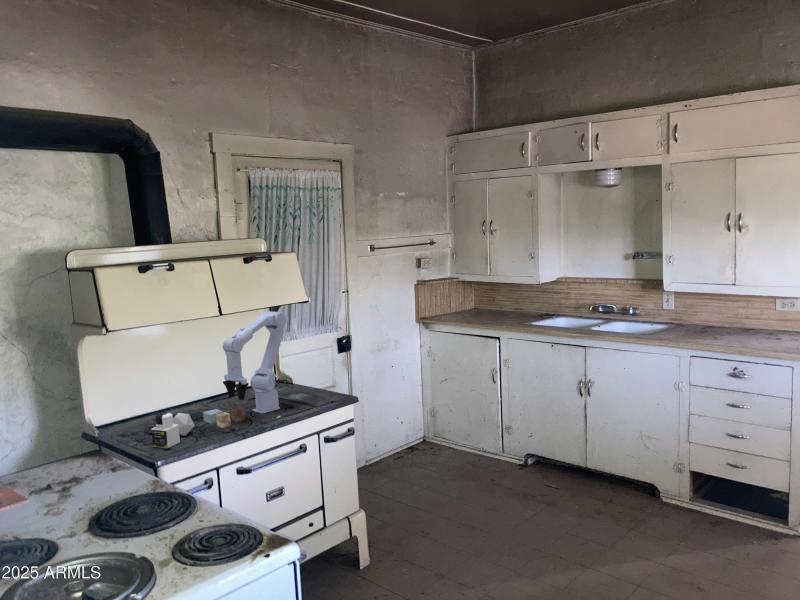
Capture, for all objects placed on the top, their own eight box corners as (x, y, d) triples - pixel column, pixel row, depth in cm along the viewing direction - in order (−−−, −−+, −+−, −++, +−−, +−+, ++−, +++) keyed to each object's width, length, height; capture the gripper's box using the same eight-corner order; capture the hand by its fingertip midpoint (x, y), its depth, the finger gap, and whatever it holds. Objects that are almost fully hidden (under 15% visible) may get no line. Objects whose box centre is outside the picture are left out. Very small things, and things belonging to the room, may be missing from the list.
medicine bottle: (152, 447, 245) (149, 416, 243) (165, 440, 251) (162, 410, 250) (167, 448, 242) (164, 417, 241) (180, 442, 249) (177, 411, 247)
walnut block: (240, 418, 277) (239, 406, 276) (245, 419, 274) (244, 408, 273) (231, 420, 274) (230, 408, 274) (236, 422, 271) (235, 410, 271)
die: (199, 433, 261) (192, 410, 265) (190, 429, 252) (183, 405, 256) (179, 442, 260) (173, 419, 264) (170, 438, 252) (163, 414, 256)
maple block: (225, 423, 270) (224, 412, 269) (230, 425, 267) (229, 413, 266) (216, 426, 267) (216, 414, 266) (222, 428, 264) (221, 416, 264)
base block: (216, 418, 279) (215, 408, 279) (223, 420, 275) (223, 411, 274) (203, 421, 275) (203, 412, 274) (210, 424, 271) (209, 414, 270)
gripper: (216, 366, 274) (219, 397, 275) (235, 370, 263) (237, 403, 265) (231, 363, 278) (234, 394, 280) (250, 367, 268) (252, 399, 270)
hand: (236, 398), depth 273 cm, fingers open, 7 cm apart
